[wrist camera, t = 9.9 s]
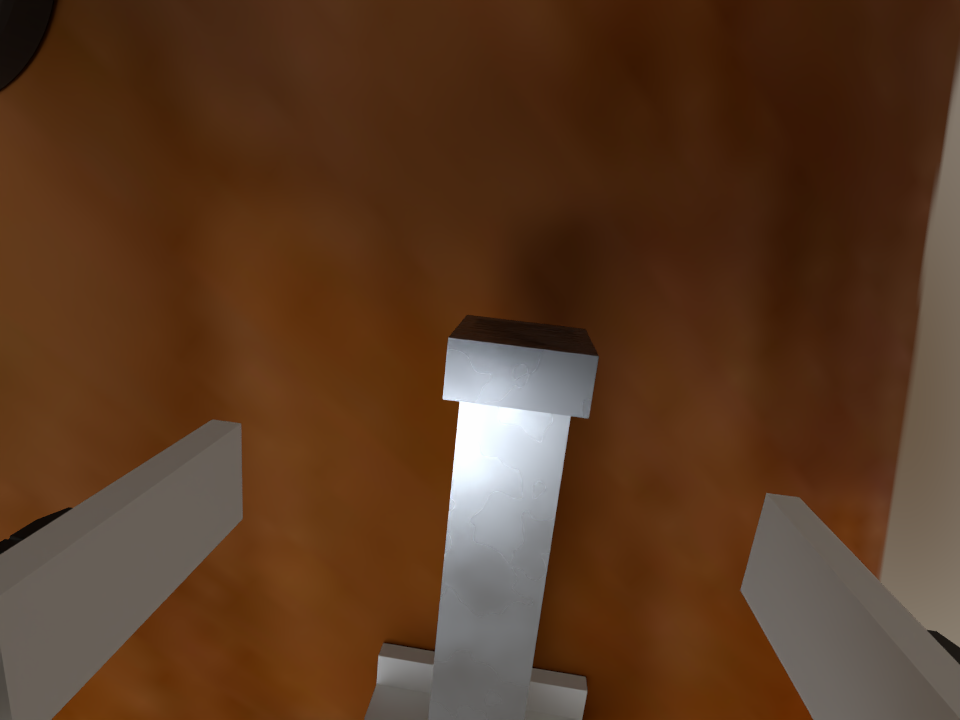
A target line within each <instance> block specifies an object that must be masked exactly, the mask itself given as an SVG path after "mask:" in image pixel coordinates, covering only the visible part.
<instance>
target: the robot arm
mask: <svg viewBox="0 0 960 720" xmlns="http://www.w3.org/2000/svg"><path fill="white" fill-rule="evenodd" d="M52 4H53V0H0V89H1V88H3V87H4V86H6V85H7V84H8V83H9V82H10V81H11V80H13V79H14V78H15V77H16V76H17V75H18V74H19V73H20V71H21V70H22V69H23V68H24V66H25V65H26V64H27V63H28V61H29V60H30V58H31V57H32V55H33V54H34V52H35V50H36V48H37V47H38V45H39V43H40V40H41V38H42V36H43V34H44V31H45V29H46V26H47V23H48V20H49V16H50V13H51V9H52ZM242 519H243V516H242V450H241V423H234V422H226V421H219V420H211V421H209V422H208V423H206V424H205V425H203V426H202V427H200V428H198V429H197V430H195V431H194V432H192V433H191V434H189V435H187V436H186V437H184V438H183V439H181V440H180V441H178V442H176V443H175V444H173V445H172V446H170V447H169V448H167V449H165V450H164V451H162V452H161V453H159V454H158V455H156V456H154V457H153V458H151V459H150V460H148V461H147V462H145V463H143V464H142V465H140V466H139V467H137V468H136V469H134V470H132V471H131V472H129V473H128V474H126V475H125V476H123V477H121V478H120V479H118V480H117V481H115V482H114V483H112V484H110V485H109V486H107V487H106V488H104V489H103V490H101V491H99V492H98V493H96V494H95V495H93V496H92V497H90V498H88V499H87V500H85V501H84V502H82V503H81V504H79V505H77V506H76V507H74V508H69V507H68V508H66V509H63V510H61V511H58V512H55V513H53V514H50V515H48V516H45V517H42V518H40V519H37V520H35V521H34V522H32V523H30V524H29V525H27V526H26V527H24V528H22V529H21V530H19V531H17V532H16V533H14V534H12V535H11V536H10V538H9V539H8V540H7V539H4V540H3V541H1V542H0V720H51V719H52V718H53V717H54V716H55V715H56V714H57V713H58V712H59V711H60V710H61V709H62V708H63V707H64V705H65V704H66V703H67V702H68V701H69V700H70V699H71V698H72V697H73V696H74V695H75V694H76V693H77V692H78V691H79V690H80V689H81V688H82V687H83V686H84V685H85V683H86V682H87V681H88V680H89V679H90V678H91V677H92V676H93V675H94V674H95V673H96V672H97V671H98V670H99V669H100V668H101V667H102V666H103V665H104V664H105V663H106V661H107V660H108V659H109V658H110V657H111V656H112V655H113V654H114V653H115V652H116V651H117V650H118V649H119V648H120V647H121V646H122V645H123V644H124V643H125V642H126V640H127V639H128V638H129V637H130V636H131V635H132V634H133V633H134V632H135V631H136V630H137V629H138V628H139V627H140V626H141V625H142V624H143V623H144V622H145V621H146V620H147V618H148V617H149V616H150V615H151V614H152V613H153V612H154V611H155V610H156V609H157V608H158V607H159V606H160V605H161V604H162V603H163V602H164V601H165V600H166V599H167V597H168V596H169V595H170V594H171V593H172V592H173V591H174V590H175V589H176V588H177V587H178V586H179V585H180V584H181V583H182V582H183V581H184V580H185V579H186V578H187V577H188V575H189V574H190V573H191V572H192V571H193V570H194V569H195V568H196V567H197V566H198V565H199V564H200V563H201V562H202V561H203V560H204V559H205V558H206V557H207V556H208V555H209V553H210V552H211V551H212V550H213V549H214V548H215V547H216V546H217V545H218V544H219V543H220V542H221V541H222V540H223V539H224V538H225V537H226V536H227V535H228V534H229V532H230V531H231V530H232V529H233V528H234V527H235V526H236V525H237V524H238V523H239V522H240V521H241V520H242ZM741 592H742V594H743V596H744V597H745V599H746V601H747V603H748V604H749V606H750V608H751V610H752V612H753V613H754V615H755V617H756V619H757V620H758V622H759V624H760V626H761V627H762V629H763V631H764V633H765V635H766V636H767V638H768V640H769V642H770V643H771V645H772V647H773V649H774V650H775V652H776V654H777V656H778V658H779V659H780V661H781V663H782V665H783V666H784V668H785V670H786V672H787V674H788V675H789V677H790V679H791V681H792V682H793V684H794V686H795V688H796V689H797V691H798V693H799V695H800V697H801V698H802V700H803V702H804V704H805V705H806V707H807V709H808V711H809V712H810V714H811V716H812V718H813V720H960V648H959V647H958V646H957V645H955V644H954V643H952V642H951V641H950V640H948V639H947V638H945V637H944V636H942V635H941V634H940V633H938V632H937V631H931V630H926V629H925V628H924V627H923V626H922V625H921V624H920V623H919V622H918V621H917V620H916V619H915V618H914V617H913V616H912V614H911V613H910V612H909V611H908V610H907V609H906V608H905V607H904V606H903V605H902V604H901V603H900V602H899V601H898V600H897V599H896V598H895V597H894V596H893V595H892V594H891V593H890V592H889V591H888V590H887V589H886V587H885V586H884V585H882V583H881V582H880V581H879V580H878V579H877V578H876V577H875V576H874V575H873V574H872V573H871V572H870V571H869V570H868V569H867V568H866V567H865V566H864V565H863V563H862V562H861V561H860V560H859V559H858V558H857V557H856V556H855V555H854V554H853V553H852V552H851V551H850V550H849V549H848V548H847V547H846V546H845V545H844V544H843V543H842V542H841V541H840V540H839V538H838V537H837V536H836V535H835V534H834V533H833V532H832V531H831V530H830V529H829V528H828V527H827V526H826V525H825V524H824V523H823V522H822V521H821V520H820V519H819V518H818V517H817V516H816V515H815V514H814V512H813V511H812V510H811V509H810V508H809V507H808V506H807V505H806V504H805V503H804V502H803V501H802V500H801V499H800V498H799V497H792V496H784V495H777V494H769V493H766V497H765V501H764V504H763V508H762V512H761V516H760V519H759V523H758V527H757V530H756V534H755V538H754V542H753V545H752V549H751V553H750V557H749V560H748V564H747V568H746V572H745V575H744V579H743V583H742V586H741Z"/></svg>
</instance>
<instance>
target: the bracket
mask: <svg viewBox="0 0 960 720" xmlns="http://www.w3.org/2000/svg"><path fill="white" fill-rule="evenodd" d="M434 657H435V652H434V651H428V650H422V649H416V648H410V647H404V646H399V645H393V644H387V643H383V645H382V648H381V651H380V653H379V657H378V671H377V684H376V687H375V690H374V693H373V696H372V699H371V701H370V704H369V707H368V710H367V713H366V716H365V718H364V720H428V717H429V707H430V697H431V687H432V677H433V667H434ZM586 696H587V683H586V677H584V676H578V675H572V674H566V673H560V672H554V671H548V670H542V669H536V668H532V672H531V678H530V685H529V691H528V698H527V705H526V711H525V718H524V720H582V717H583V712H584V706H585V701H586Z"/></svg>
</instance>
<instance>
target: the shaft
mask: <svg viewBox="0 0 960 720" xmlns="http://www.w3.org/2000/svg"><path fill="white" fill-rule="evenodd" d="M598 357H599V356H598V354H597V352H596V350H595V348H594V346H593V343H592V341H591V339H590V337H589V335H588V333H587V331H586V329H581V328H573V327H564V326H556V325H548V324H539V323H531V322H523V321H514V320H506V319H498V318H489V317H481V316H473V315H466V317H465V318H464V319H463V320H462V322H461V323H460V324H459V325H458V326H457V328H456V329H455V330H454V331H453V332H452V334H451V335H450V336H449V337H448V346H447V357H446V368H445V379H444V390H443V399H445V400H453V401H460V406H459V416H458V426H457V436H456V446H455V456H454V466H453V476H452V486H451V496H450V506H449V516H448V526H447V536H446V546H445V556H444V566H443V576H442V586H441V596H440V606H439V616H438V626H437V636H436V646H435V657H434V667H433V677H432V687H431V697H430V707H429V717H428V720H524V718H525V711H526V705H527V698H528V691H529V685H530V678H531V672H532V665H533V659H534V652H535V646H536V639H537V633H538V626H539V620H540V613H541V607H542V600H543V594H544V587H545V581H546V574H547V567H548V561H549V554H550V548H551V541H552V535H553V528H554V522H555V515H556V509H557V502H558V496H559V489H560V483H561V476H562V470H563V463H564V457H565V450H566V443H567V437H568V430H569V424H570V417H571V416H574V417H581V418H589V413H590V407H591V401H592V394H593V388H594V382H595V376H596V370H597V363H598Z"/></svg>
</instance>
